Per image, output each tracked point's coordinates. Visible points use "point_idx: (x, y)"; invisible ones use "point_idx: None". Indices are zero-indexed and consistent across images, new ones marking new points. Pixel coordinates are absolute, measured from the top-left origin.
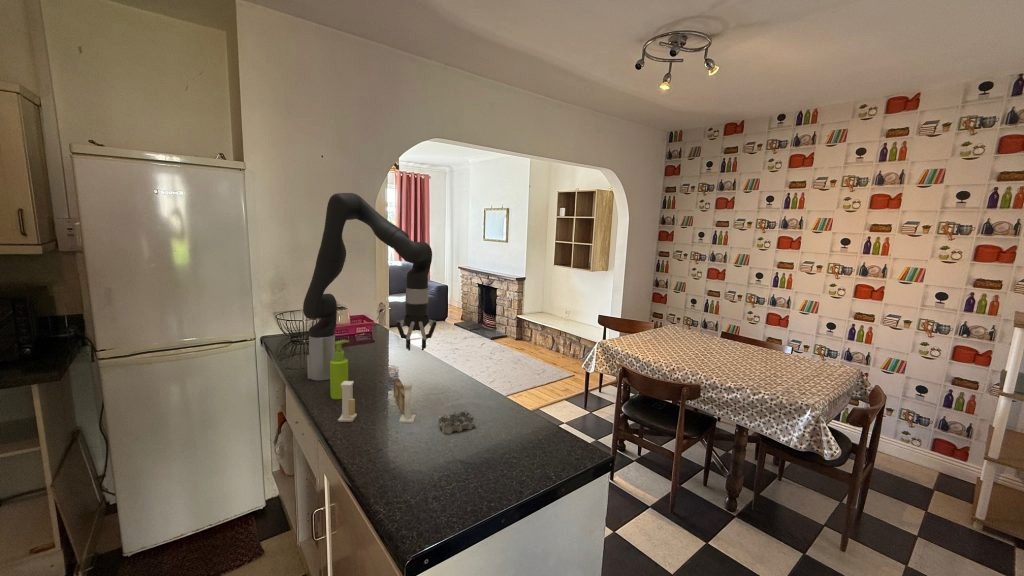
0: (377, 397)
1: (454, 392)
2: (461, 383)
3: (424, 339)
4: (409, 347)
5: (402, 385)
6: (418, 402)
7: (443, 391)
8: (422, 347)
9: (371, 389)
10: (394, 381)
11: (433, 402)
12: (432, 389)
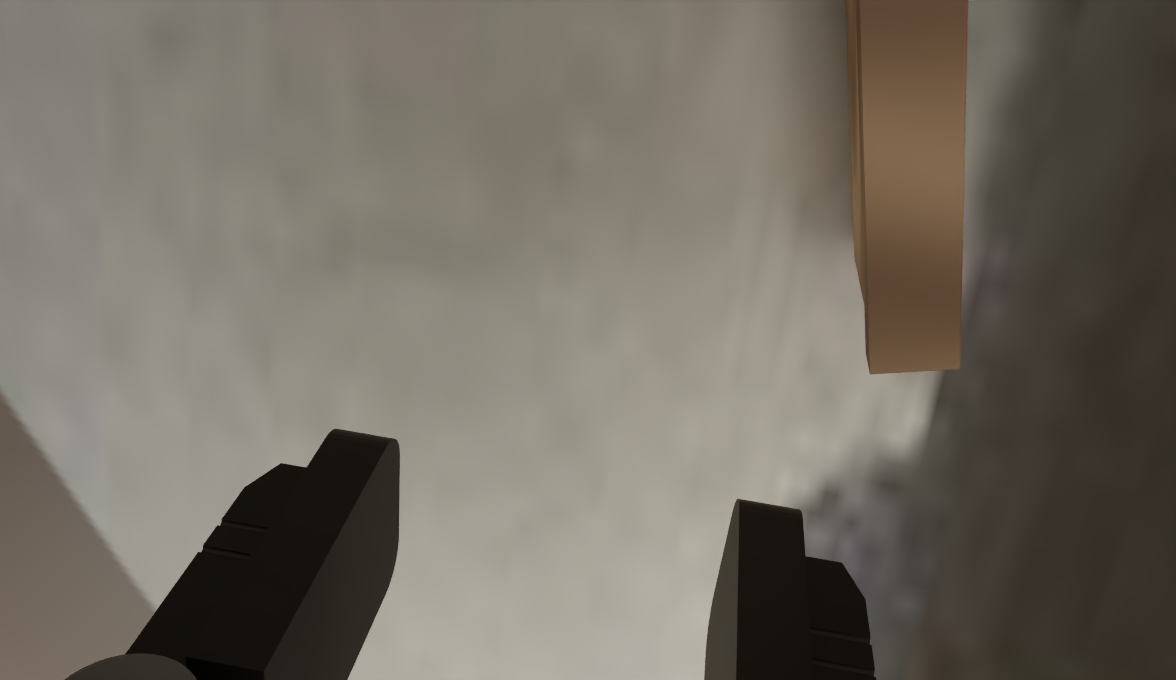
0: (1077, 327)
1: (204, 228)
2: (132, 421)
3: (150, 668)
4: (762, 556)
5: (878, 78)
6: (633, 67)
7: (324, 285)
8: (349, 476)
9: (1085, 532)
10: (960, 280)
11: (455, 20)
12: (439, 364)
